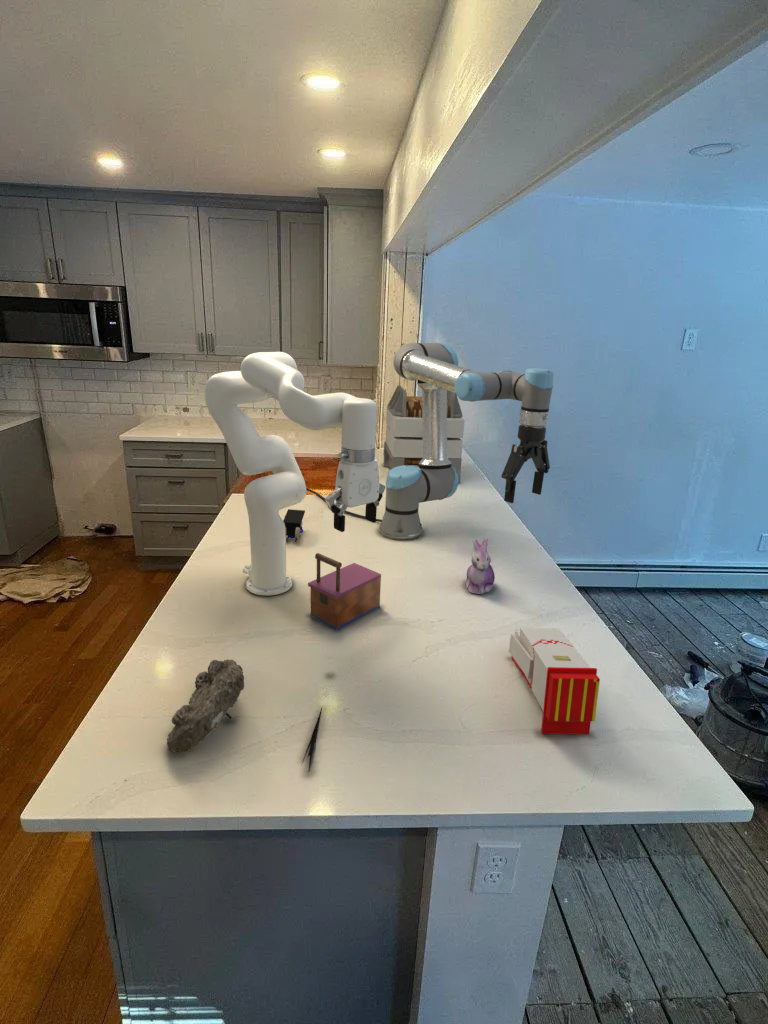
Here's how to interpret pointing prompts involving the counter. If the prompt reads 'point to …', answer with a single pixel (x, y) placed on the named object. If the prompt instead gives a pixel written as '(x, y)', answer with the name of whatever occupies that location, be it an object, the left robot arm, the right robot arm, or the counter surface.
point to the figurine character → (293, 523)
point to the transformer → (418, 431)
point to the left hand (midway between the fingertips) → (355, 525)
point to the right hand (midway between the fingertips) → (522, 497)
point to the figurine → (480, 569)
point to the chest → (345, 605)
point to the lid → (341, 578)
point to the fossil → (206, 705)
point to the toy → (557, 679)
